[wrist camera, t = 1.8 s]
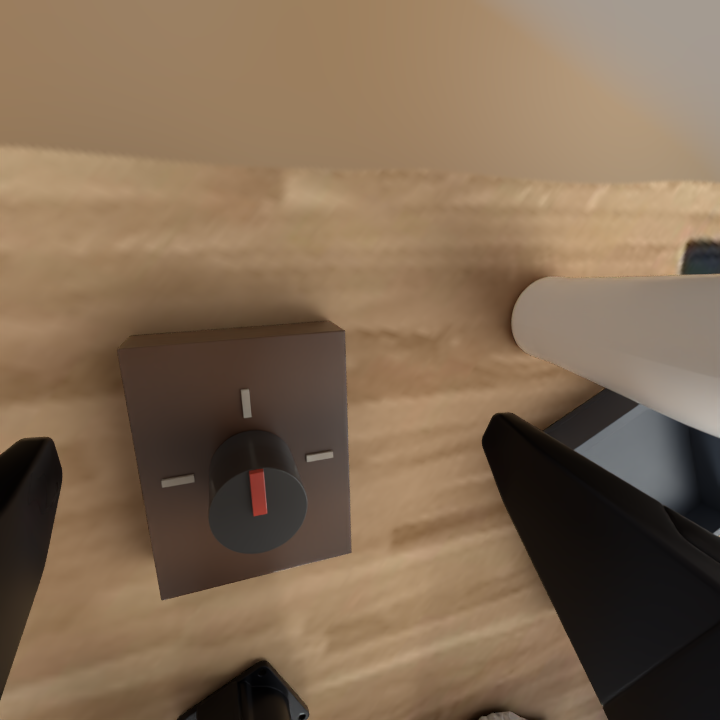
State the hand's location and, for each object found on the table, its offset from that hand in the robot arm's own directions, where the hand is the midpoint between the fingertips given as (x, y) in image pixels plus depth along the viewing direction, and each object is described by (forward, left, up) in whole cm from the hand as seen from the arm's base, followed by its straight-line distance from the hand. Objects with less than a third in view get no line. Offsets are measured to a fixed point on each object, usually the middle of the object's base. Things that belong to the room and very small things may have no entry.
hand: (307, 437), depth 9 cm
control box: (-6, +4, -14) cm, 16 cm away
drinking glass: (-9, -16, -15) cm, 24 cm away
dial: (-6, +4, -11) cm, 13 cm away
